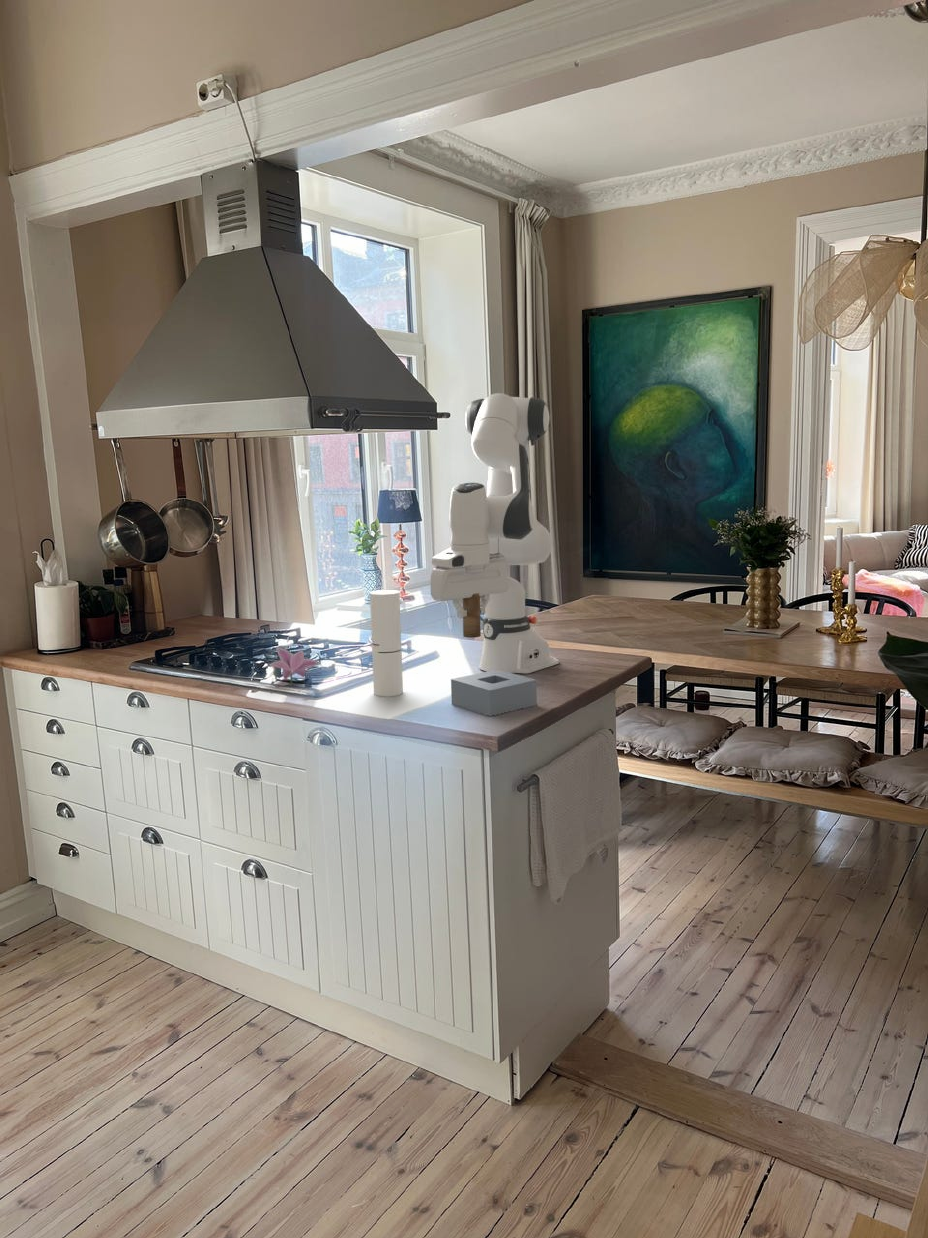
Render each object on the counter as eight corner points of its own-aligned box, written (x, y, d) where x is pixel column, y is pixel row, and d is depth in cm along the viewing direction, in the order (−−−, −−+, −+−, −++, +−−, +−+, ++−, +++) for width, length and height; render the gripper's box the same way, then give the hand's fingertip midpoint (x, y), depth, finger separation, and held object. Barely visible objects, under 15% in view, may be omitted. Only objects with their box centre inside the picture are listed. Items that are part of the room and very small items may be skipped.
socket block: (497, 693, 225) (497, 669, 224) (536, 705, 214) (536, 679, 213) (451, 704, 216) (451, 679, 215) (490, 716, 205) (489, 690, 204)
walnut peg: (473, 633, 215) (472, 590, 214) (484, 635, 212) (483, 592, 211) (459, 635, 213) (458, 592, 211) (470, 638, 210) (469, 594, 208)
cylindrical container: (388, 687, 233) (384, 589, 228) (409, 691, 228) (405, 591, 224) (367, 693, 227) (363, 592, 223) (388, 698, 223) (384, 595, 218)
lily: (326, 686, 240) (325, 651, 243) (295, 678, 230) (294, 641, 233) (291, 696, 245) (290, 661, 249) (260, 688, 236) (259, 652, 239)
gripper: (496, 550, 218) (497, 608, 221) (425, 558, 206) (427, 620, 208) (514, 552, 213) (515, 612, 216) (442, 561, 201) (444, 623, 203)
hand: (471, 616), depth 212 cm, fingers closed on walnut peg, 4 cm apart
